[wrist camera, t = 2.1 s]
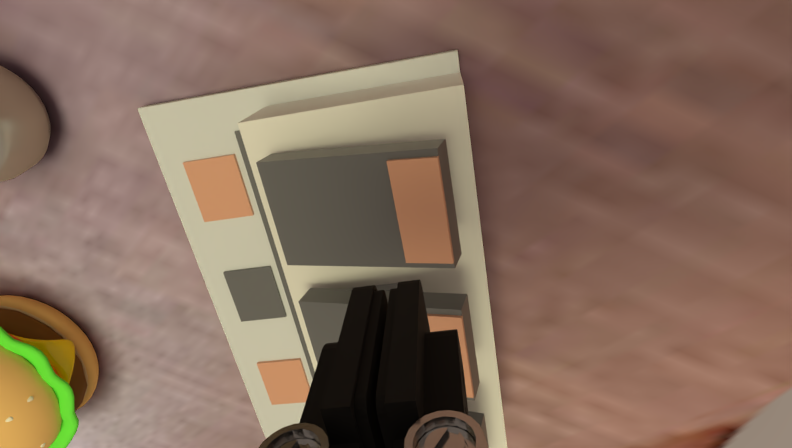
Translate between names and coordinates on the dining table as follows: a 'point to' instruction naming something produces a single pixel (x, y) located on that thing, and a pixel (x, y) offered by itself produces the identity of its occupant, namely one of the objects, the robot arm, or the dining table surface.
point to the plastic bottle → (20, 126)
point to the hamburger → (42, 374)
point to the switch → (364, 205)
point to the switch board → (247, 233)
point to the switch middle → (443, 309)
